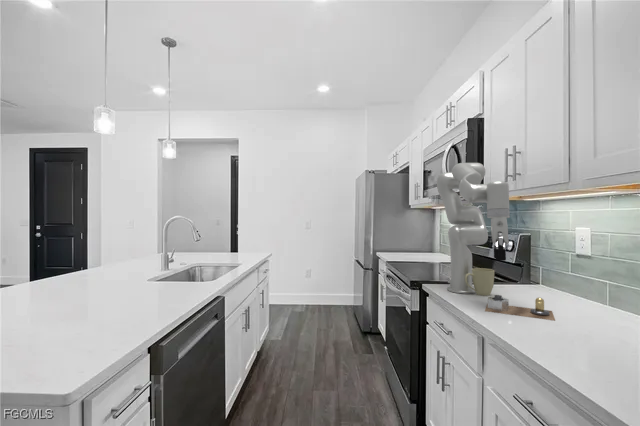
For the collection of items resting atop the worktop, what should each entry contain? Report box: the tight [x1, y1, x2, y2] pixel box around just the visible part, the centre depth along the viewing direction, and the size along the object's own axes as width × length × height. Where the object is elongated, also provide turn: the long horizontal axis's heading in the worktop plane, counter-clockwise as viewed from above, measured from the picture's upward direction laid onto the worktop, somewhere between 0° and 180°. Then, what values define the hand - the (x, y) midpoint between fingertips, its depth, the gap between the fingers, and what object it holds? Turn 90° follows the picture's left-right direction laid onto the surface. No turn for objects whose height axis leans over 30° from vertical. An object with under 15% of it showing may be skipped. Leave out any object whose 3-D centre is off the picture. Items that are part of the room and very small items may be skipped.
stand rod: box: [493, 294, 503, 300], centre depth 122 cm, size 2×2×5 cm
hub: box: [530, 297, 550, 316], centre depth 115 cm, size 6×6×6 cm
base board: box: [484, 302, 556, 322], centre depth 119 cm, size 21×13×1 cm, turn 58°
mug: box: [465, 267, 495, 297], centre depth 144 cm, size 11×10×12 cm
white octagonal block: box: [487, 296, 510, 311], centre depth 122 cm, size 7×7×4 cm
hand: (499, 259), depth 123 cm, fingers open, 9 cm apart
